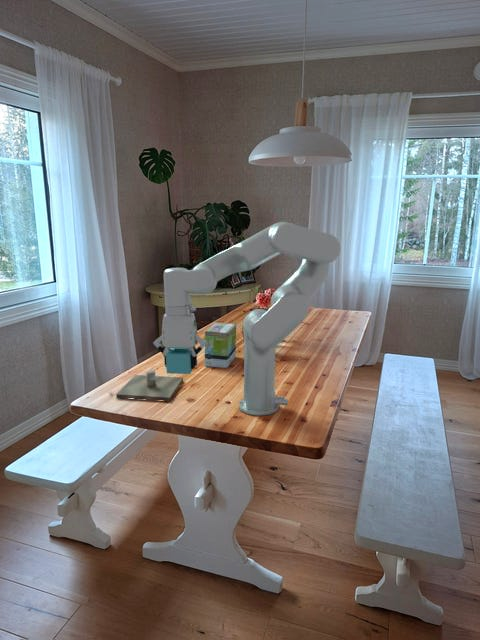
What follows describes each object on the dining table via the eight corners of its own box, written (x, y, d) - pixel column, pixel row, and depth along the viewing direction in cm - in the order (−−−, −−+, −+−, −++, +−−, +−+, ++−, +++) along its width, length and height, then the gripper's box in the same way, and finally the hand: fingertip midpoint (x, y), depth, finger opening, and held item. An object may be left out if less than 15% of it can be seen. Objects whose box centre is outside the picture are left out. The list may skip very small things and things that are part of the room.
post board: (183, 381, 163) (182, 364, 162) (169, 401, 146) (169, 383, 144) (135, 378, 165) (134, 361, 164) (116, 398, 148) (115, 380, 146)
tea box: (228, 368, 177) (228, 332, 174) (203, 366, 179) (203, 330, 176) (236, 356, 191) (236, 323, 188) (213, 355, 193) (213, 321, 190)
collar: (194, 366, 139) (194, 347, 138) (189, 374, 133) (188, 354, 131) (173, 365, 140) (172, 347, 139) (166, 373, 133) (165, 354, 132)
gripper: (209, 307, 134) (211, 364, 139) (153, 307, 136) (157, 362, 141) (204, 313, 127) (206, 372, 132) (145, 312, 129) (149, 370, 134)
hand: (181, 366), depth 136 cm, fingers closed on collar, 7 cm apart
